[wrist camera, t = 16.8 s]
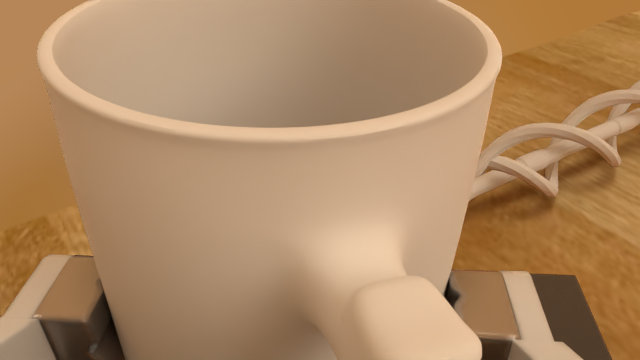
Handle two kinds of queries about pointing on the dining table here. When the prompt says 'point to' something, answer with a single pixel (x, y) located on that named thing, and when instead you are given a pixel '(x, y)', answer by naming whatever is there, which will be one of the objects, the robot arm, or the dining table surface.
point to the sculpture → (558, 144)
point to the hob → (569, 315)
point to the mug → (274, 171)
